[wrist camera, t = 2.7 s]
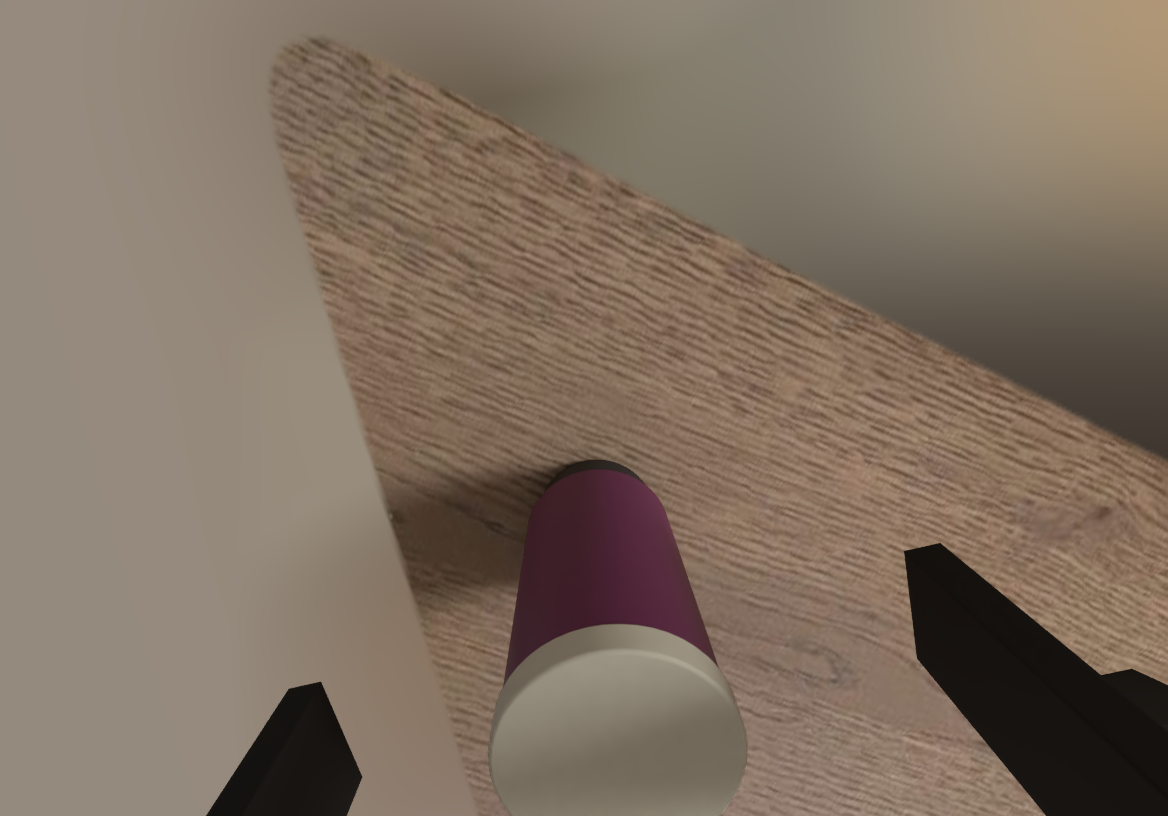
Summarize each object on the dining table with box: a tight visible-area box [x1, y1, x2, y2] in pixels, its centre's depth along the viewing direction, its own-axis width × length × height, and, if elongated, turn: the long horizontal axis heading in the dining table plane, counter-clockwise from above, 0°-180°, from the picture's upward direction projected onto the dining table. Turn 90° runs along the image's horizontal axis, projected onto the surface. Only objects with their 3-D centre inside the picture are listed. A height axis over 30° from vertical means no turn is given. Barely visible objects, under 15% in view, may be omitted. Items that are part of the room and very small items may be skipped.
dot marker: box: [488, 460, 747, 816], centre depth 15 cm, size 5×5×10 cm
